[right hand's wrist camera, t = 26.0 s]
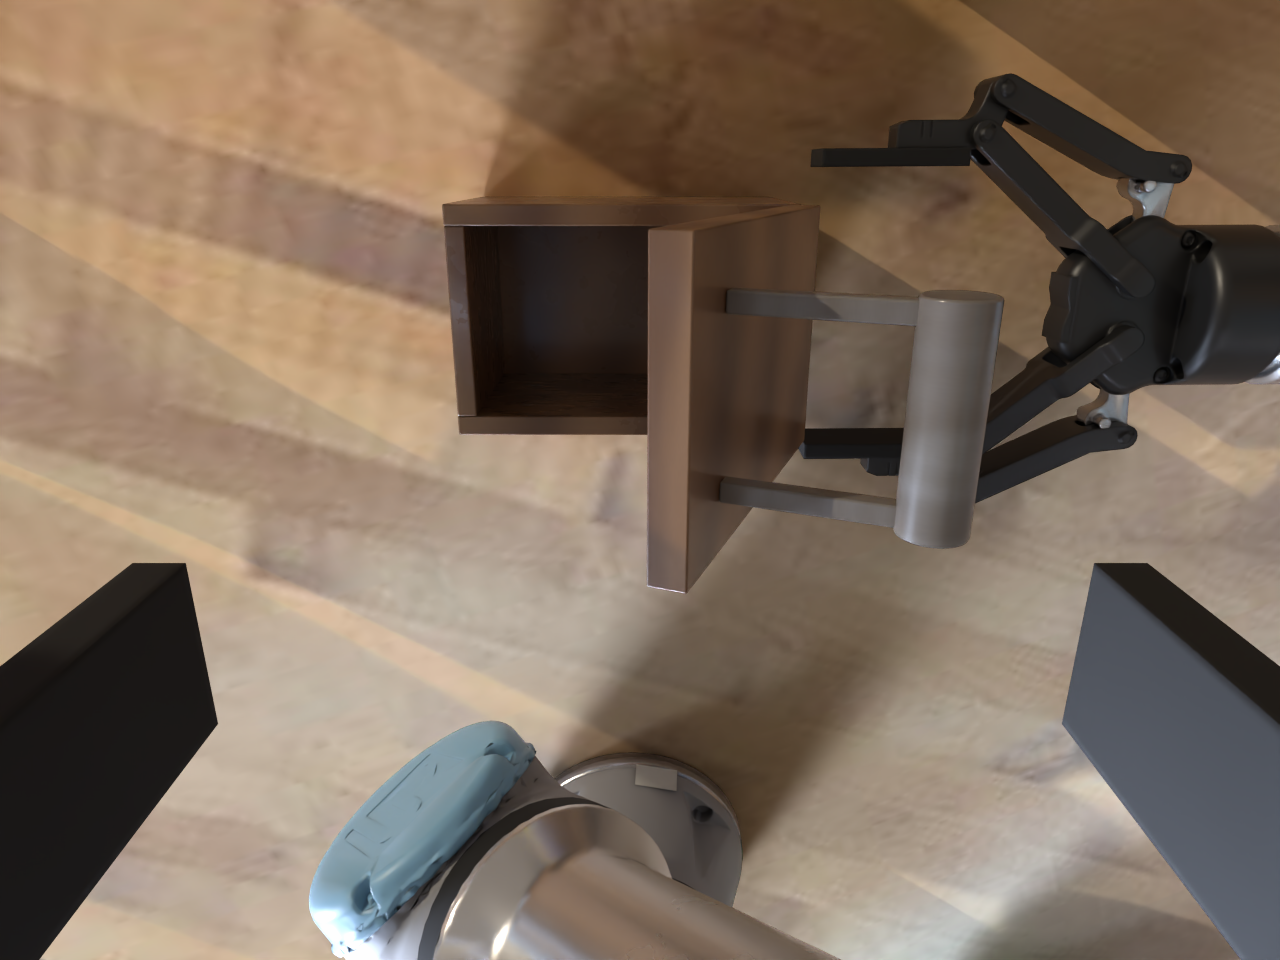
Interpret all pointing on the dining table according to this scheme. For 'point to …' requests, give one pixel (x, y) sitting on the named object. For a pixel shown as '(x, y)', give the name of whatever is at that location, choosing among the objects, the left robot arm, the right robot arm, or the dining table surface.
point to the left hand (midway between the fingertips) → (806, 308)
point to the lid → (791, 390)
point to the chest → (558, 308)
